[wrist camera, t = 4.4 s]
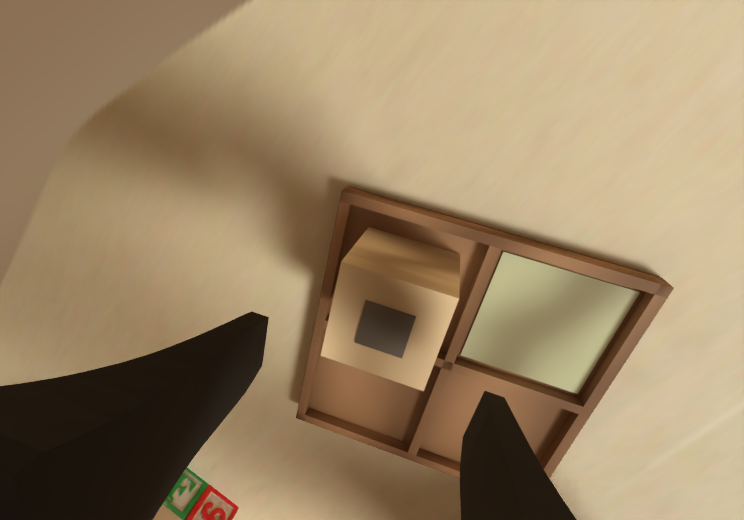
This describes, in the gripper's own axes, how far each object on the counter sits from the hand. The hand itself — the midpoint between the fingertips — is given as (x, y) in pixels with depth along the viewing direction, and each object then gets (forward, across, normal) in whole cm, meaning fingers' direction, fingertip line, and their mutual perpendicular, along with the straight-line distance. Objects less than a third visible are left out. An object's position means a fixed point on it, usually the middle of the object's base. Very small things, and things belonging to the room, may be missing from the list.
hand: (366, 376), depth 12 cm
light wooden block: (+7, 0, 0) cm, 7 cm away
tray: (+8, -4, +4) cm, 9 cm away
